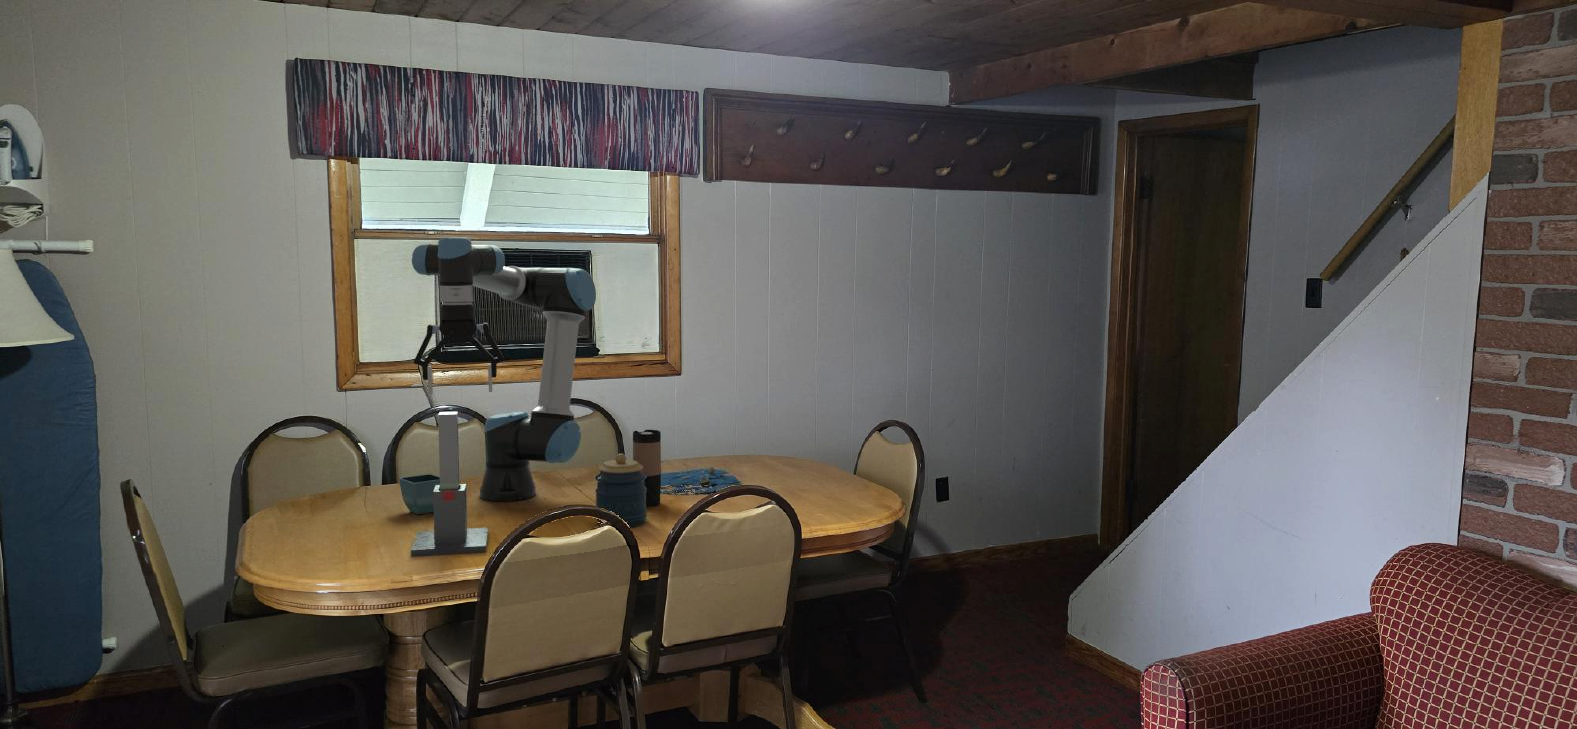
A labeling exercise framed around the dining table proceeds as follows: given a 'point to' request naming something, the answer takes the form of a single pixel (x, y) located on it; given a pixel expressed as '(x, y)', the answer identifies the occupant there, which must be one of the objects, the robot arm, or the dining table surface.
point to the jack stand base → (450, 527)
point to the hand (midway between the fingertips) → (460, 392)
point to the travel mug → (649, 462)
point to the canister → (622, 490)
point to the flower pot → (419, 492)
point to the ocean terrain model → (697, 480)
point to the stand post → (448, 450)
